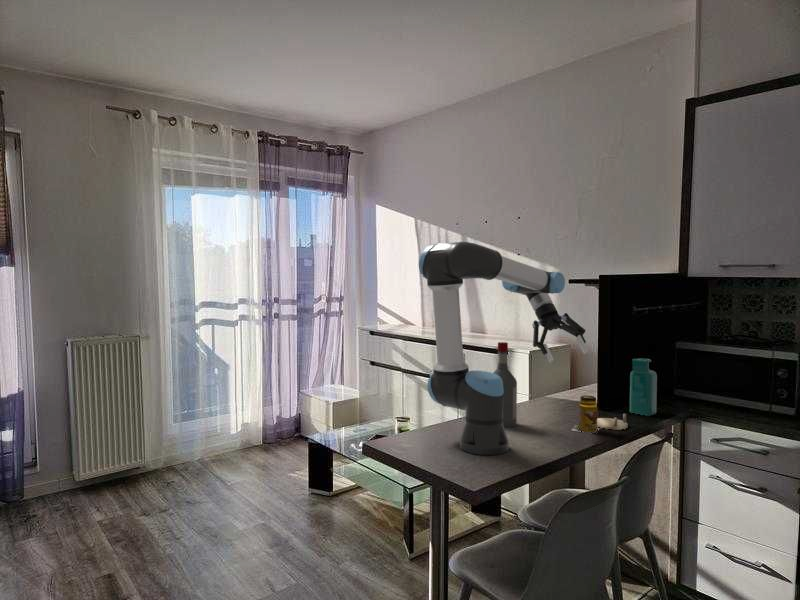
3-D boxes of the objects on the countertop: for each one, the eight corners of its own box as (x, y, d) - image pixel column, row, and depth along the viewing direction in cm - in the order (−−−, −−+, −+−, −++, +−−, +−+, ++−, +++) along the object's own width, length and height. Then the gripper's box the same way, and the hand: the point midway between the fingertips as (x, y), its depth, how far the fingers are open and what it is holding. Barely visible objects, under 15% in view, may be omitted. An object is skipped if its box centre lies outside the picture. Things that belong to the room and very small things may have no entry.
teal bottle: (635, 409, 216) (636, 356, 216) (657, 413, 210) (658, 358, 210) (626, 413, 209) (627, 358, 209) (648, 417, 203) (649, 360, 203)
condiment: (596, 434, 181) (596, 399, 180) (570, 430, 185) (571, 396, 185) (599, 429, 187) (600, 395, 187) (574, 426, 191) (575, 393, 191)
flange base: (599, 429, 186) (599, 418, 186) (587, 421, 198) (587, 410, 198) (633, 430, 186) (633, 418, 186) (619, 421, 198) (619, 410, 198)
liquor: (510, 420, 198) (511, 341, 197) (518, 427, 189) (518, 344, 188) (486, 421, 197) (487, 341, 196) (492, 427, 188) (493, 344, 187)
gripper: (570, 305, 203) (596, 353, 192) (511, 320, 198) (534, 369, 187) (576, 295, 197) (604, 343, 186) (515, 309, 192) (540, 360, 181)
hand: (569, 356), depth 187 cm, fingers open, 13 cm apart
